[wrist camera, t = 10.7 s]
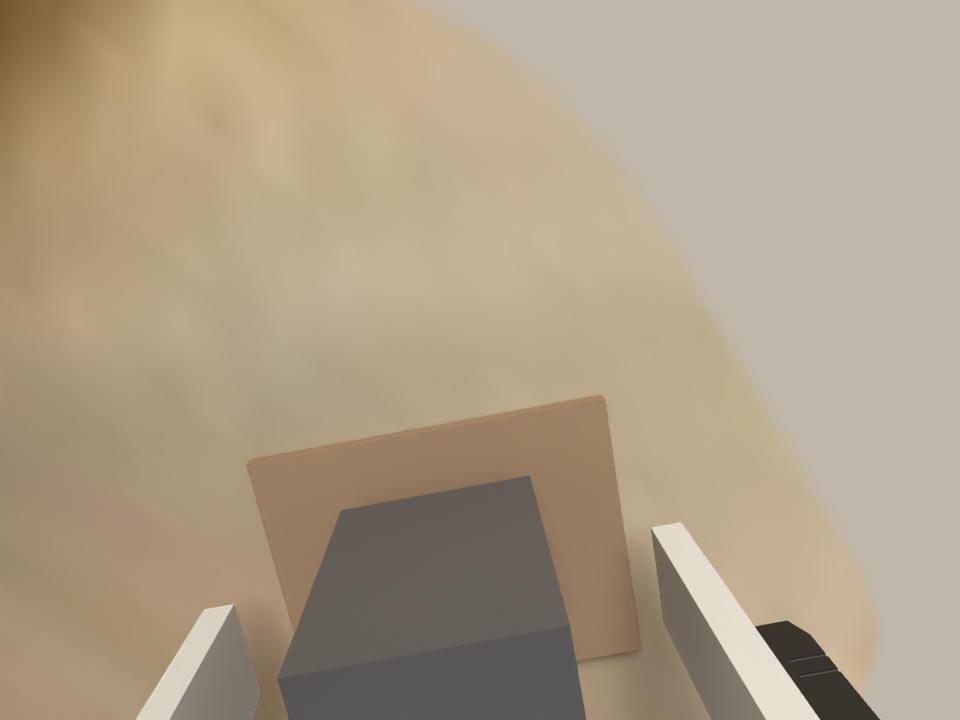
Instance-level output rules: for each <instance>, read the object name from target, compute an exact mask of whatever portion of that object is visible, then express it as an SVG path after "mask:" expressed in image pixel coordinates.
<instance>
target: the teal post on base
mask: <svg viewBox="0 0 960 720" xmlns="http://www.w3.org/2000/svg"><path fill="white" fill-rule="evenodd" d="M247 468H248V472H249V475H250V479H251V482H252V486H253V489H254V493H255V497H256V500H257V504H258V507H259V511H260V514H261V518H262V521H263V525H264V528H265V532H266V535H267V539H268V543H269V546H270V550H271V553H272V557H273V560H274V564H275V567H276V571H277V574H278V578H279V581H280V585H281V589H282V592H283V596H284V599H285V603H286V606H287V610H288V613H289V617H290V620H291V624H292V627H293V631H294V634H295V631H296V628H297V626H298V623H299V620H300V618H301V615H302V612H303V610H304V607H305V604H306V602H307V599H308V596H309V594H310V591H311V589H312V586H313V583H314V581H315V578H316V575H317V573H318V570H319V567H320V565H321V562H322V559H323V557H324V554H325V552H326V549H327V546H328V544H329V541H330V538H331V536H332V533H333V530H334V528H335V525H336V522H337V520H338V517H339V515H340V512H341V510H345V509H350V508H356V507H361V506H366V505H372V504H377V503H383V502H388V501H394V500H399V499H404V498H410V497H415V496H421V495H426V494H432V493H437V492H443V491H448V490H453V489H459V488H464V487H470V486H475V485H481V484H486V483H491V482H497V481H502V480H508V479H513V478H519V477H524V476H530V478H531V482H532V486H533V489H534V493H535V497H536V501H537V504H538V508H539V512H540V516H541V519H542V523H543V527H544V530H545V534H546V538H547V542H548V545H549V549H550V553H551V557H552V560H553V564H554V568H555V572H556V575H557V579H558V583H559V586H560V590H561V594H562V598H563V601H564V605H565V609H566V613H567V616H568V620H569V624H570V629H571V635H572V640H573V646H574V652H575V658H576V661H581V660H587V659H592V658H598V657H603V656H609V655H614V654H620V653H625V652H631V651H636V650H641V645H640V638H639V632H638V625H637V618H636V611H635V604H634V597H633V590H632V583H631V576H630V569H629V563H628V556H627V549H626V542H625V535H624V528H623V521H622V514H621V507H620V501H619V494H618V487H617V480H616V473H615V466H614V459H613V452H612V445H611V438H610V432H609V425H608V418H607V411H606V404H605V399H604V397H603V396H602V395H600V396H594V397H589V398H583V399H578V400H573V401H567V402H562V403H556V404H551V405H546V406H540V407H535V408H529V409H524V410H518V411H513V412H508V413H502V414H497V415H491V416H486V417H481V418H475V419H470V420H464V421H459V422H454V423H448V424H443V425H437V426H432V427H427V428H421V429H416V430H410V431H405V432H399V433H394V434H389V435H383V436H378V437H372V438H367V439H362V440H356V441H351V442H345V443H340V444H335V445H329V446H324V447H318V448H313V449H308V450H302V451H297V452H291V453H286V454H281V455H275V456H270V457H264V458H259V459H253V460H251V461H250V462H249V463H248V464H247Z"/></svg>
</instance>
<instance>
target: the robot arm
mask: <svg viewBox="0 0 960 720" xmlns="http://www.w3.org/2000/svg"><path fill="white" fill-rule="evenodd" d="M651 531H652V538H653V546H654V553H655V561H656V568H657V576H658V583H659V591H660V598H661V605H662V613H663V620H664V624H665V626H666V628H667V630H668V632H669V634H670V636H671V638H672V640H673V642H674V644H675V646H676V648H677V650H678V652H679V654H680V656H681V658H682V660H683V662H684V664H685V667H686V669H687V671H688V673H689V675H690V677H691V679H692V681H693V683H694V685H695V687H696V689H697V691H698V693H699V695H700V697H701V699H702V701H703V703H704V705H705V707H706V709H707V711H708V713H709V715H710V717H711V719H712V720H880V719H879V718H878V717H877V716H876V714H875V713H874V712H873V711H872V710H871V708H870V707H869V706H868V705H867V703H866V702H865V701H864V700H863V699H862V697H861V696H860V695H859V694H858V692H857V691H856V690H855V689H854V688H853V686H852V685H851V684H850V683H849V681H848V680H847V679H846V678H845V677H844V675H843V674H842V673H841V672H839V671H838V669H837V667H836V666H835V664H834V663H833V662H832V661H831V659H830V658H829V657H828V656H827V657H826V655H825V652H824V651H823V650H822V648H821V647H820V646H819V645H818V644H817V642H816V641H815V640H814V639H813V638H812V636H811V635H810V634H808V633H807V632H805V631H803V630H802V629H800V628H798V627H797V626H795V625H794V624H792V623H790V622H789V621H783V622H777V623H772V624H766V625H761V626H755V627H754V625H753V624H752V622H751V621H750V619H749V618H748V617H747V615H746V614H745V612H744V611H743V609H742V608H741V607H740V605H739V604H738V602H737V601H736V600H735V598H734V597H733V595H732V594H731V592H730V591H729V590H728V588H727V587H726V585H725V584H724V582H723V581H722V580H721V578H720V577H719V575H718V574H717V573H716V571H715V570H714V568H713V567H712V565H711V564H710V563H709V561H708V560H707V558H706V557H705V555H704V554H703V553H702V551H701V550H700V548H699V547H698V546H697V544H696V543H695V541H694V540H693V538H692V537H691V536H690V534H689V533H688V531H687V530H686V528H685V527H684V526H683V524H682V523H681V522H679V523H674V524H668V525H663V526H657V527H652V528H651ZM261 696H262V695H261V691H260V688H259V685H258V682H257V678H256V675H255V672H254V668H253V665H252V662H251V658H250V655H249V652H248V649H247V645H246V642H245V639H244V635H243V632H242V629H241V625H240V622H239V619H238V616H237V612H236V609H235V606H234V604H231V605H226V606H220V607H215V608H209V609H204V611H203V612H202V614H201V616H200V617H199V619H198V620H197V622H196V624H195V625H194V627H193V628H192V630H191V632H190V633H189V635H188V636H187V638H186V640H185V641H184V643H183V644H182V646H181V648H180V649H179V651H178V652H177V654H176V656H175V657H174V659H173V661H172V662H171V664H170V665H169V667H168V669H167V670H166V672H165V673H164V675H163V677H162V678H161V680H160V681H159V683H158V685H157V686H156V688H155V689H154V691H153V693H152V694H151V696H150V697H149V699H148V701H147V702H146V704H145V705H144V707H143V709H142V710H141V712H140V713H139V715H138V717H137V718H136V720H252V719H253V716H254V714H255V711H256V709H257V706H258V704H259V701H260V699H261Z"/></svg>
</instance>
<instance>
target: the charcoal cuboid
mask: <svg viewBox="0 0 960 720" xmlns="http://www.w3.org/2000/svg"><path fill="white" fill-rule="evenodd" d="M277 679H278V682H279V686H280V689H281V692H282V696H283V699H284V703H285V706H286V709H287V713H288V716H289V720H586V716H585V710H584V704H583V699H582V693H581V687H580V681H579V675H578V669H577V664H576V658H575V652H574V646H573V640H572V635H571V629H570V624H569V620H568V616H567V613H566V609H565V605H564V601H563V598H562V594H561V590H560V586H559V583H558V579H557V575H556V572H555V568H554V564H553V560H552V557H551V553H550V549H549V545H548V542H547V538H546V534H545V530H544V527H543V523H542V519H541V516H540V512H539V508H538V504H537V501H536V497H535V493H534V489H533V486H532V482H531V478H530V476H524V477H519V478H513V479H508V480H502V481H497V482H491V483H486V484H481V485H475V486H470V487H464V488H459V489H453V490H448V491H443V492H437V493H432V494H426V495H421V496H415V497H410V498H404V499H399V500H394V501H388V502H383V503H377V504H372V505H366V506H361V507H356V508H350V509H345V510H341V512H340V515H339V517H338V520H337V522H336V525H335V528H334V530H333V533H332V536H331V538H330V541H329V544H328V546H327V549H326V552H325V554H324V557H323V559H322V562H321V565H320V567H319V570H318V573H317V575H316V578H315V581H314V583H313V586H312V589H311V591H310V594H309V596H308V599H307V602H306V604H305V607H304V610H303V612H302V615H301V618H300V620H299V623H298V626H297V628H296V631H295V634H294V636H293V639H292V641H291V644H290V647H289V649H288V652H287V655H286V657H285V660H284V663H283V665H282V668H281V671H280V673H279V676H278V678H277Z"/></svg>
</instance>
